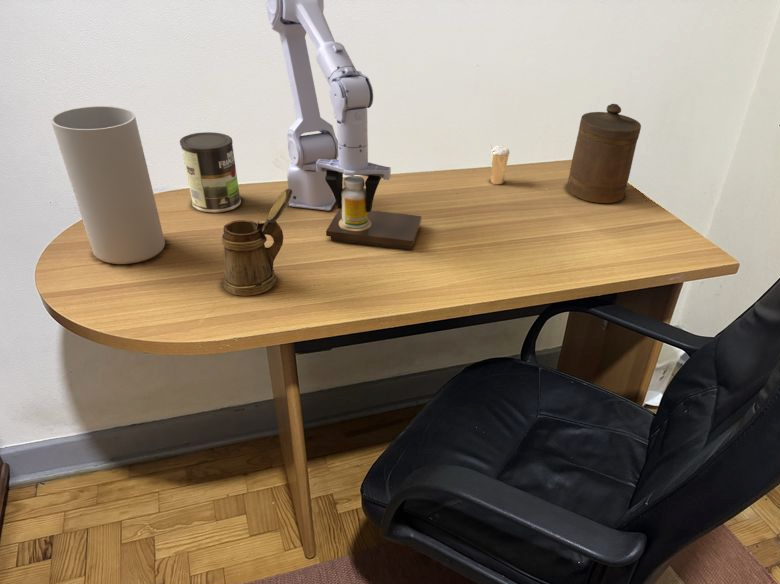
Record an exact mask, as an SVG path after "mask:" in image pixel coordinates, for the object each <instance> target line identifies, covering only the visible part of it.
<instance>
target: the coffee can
mask: <svg viewBox="0 0 780 584" xmlns="http://www.w3.org/2000/svg"><path fill="white" fill-rule="evenodd" d="M233 144H234V143H233V138H232V137H231V136H230V135H227V134H224V133H220V132H214V131H213V132H211V131H207V132H205V131H204V132H195V133H190V134H187V135H185V136H182V137H180V139H179V145H180V147H181V151H182V157H183V163H184V168H185V172H186V178H187V183H188V188H189V192H190V198H191V205H192V207H193V208H194V209H195V210H197V211H200V212H204V213H224V212H229V211H232V210H234V209H236V208H238V207H239V206H240V205H241V203H242V200H241V194H240V187H239V181H238V175H237V168H236V160H235V153H234V146H233Z"/></svg>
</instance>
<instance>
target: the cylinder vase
mask: <svg viewBox="0 0 780 584" xmlns="http://www.w3.org/2000/svg"><path fill="white" fill-rule="evenodd" d="M50 122H51V126H52V128H53V131H54V135H55V138H56V141H57V144H58V148H59V150H60V154H61V158H62V160H63V162H64V166H65V170H66V173H67V175H68V179H69V182H70V185H71V188H72V192H73V194H74V197H75V201H76V205H77V207H78V210H79V213H80V216H81V219H82V223H83V226H84V229H85V232H86V236H87V238H88V242H89V245H90V248H91V252H92V254H93V255H94V256H95V258H97V259H98V260H100V261H102V262H104V263H107V264H113V265H114V264H115V265H129V264H136V263H140V262H145V261H147V260H149V259H152V258H154V257H156V256H157V255H159V254H160V253H161V252H162V251H163V250H164V248H165V244H166V242H165V235H164V233H163V228H162V224H161V219H160V216H159V211H158V207H157V203H156V199H155V195H154V190H153V186H152V181H151V177H150V172H149V169H148V165H147V161H146V160H147V159H146V156H145V152H144V147H143V143H142V139H141V135H140V131H139V127H138V123H137V119H136V115H135V113H134V112H133V111H132V110H129V109H126V108H123V107H118V106H109V105H93V106H80V107H75V108H74V107H73V108H70V109H65V110H63V111H59V112H58V113H56V114H54V115H53V116H52V117H51V118H50Z"/></svg>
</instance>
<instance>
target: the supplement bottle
mask: <svg viewBox="0 0 780 584" xmlns="http://www.w3.org/2000/svg"><path fill="white" fill-rule="evenodd" d="M366 201H367V196H366V187H365V179H364V178H363V176H360V175H354V176H346V177H344V178H343V189H342V191H341V205H342V223H343V224H344V225H345V226H347V227H350V228H362V227H364V226H366V225H367V223H368V212H367V211H366Z"/></svg>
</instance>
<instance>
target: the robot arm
mask: <svg viewBox="0 0 780 584" xmlns="http://www.w3.org/2000/svg"><path fill="white" fill-rule="evenodd" d="M264 1H265V7H266V11H267V17H268V20H269V24H270V28H271V30H273V31H274V32H276V33H278V34H279V39H280V44H281V47H282V52H283V53H282V54H283V57H284V58H283V59H284V62H285V67H286V71H287V77H288V83H289V87H290V92H291V96H292V102H293V106H294V111H295V116H296V120H294V122H293V123H292V124H291V125H290V127H289V128H288V129H287V131H286V137H287V152H288V156H289V158H290V161H291V162H290V163H289V165H288V167H287V174H286V175H287V189H291V190H292V191H293V192H292V195H291V198H290V200H289V202H288V206H289V207H293V208H300V209H308V210H310V209H311V210H319V211H327V212H329V211H331V210H332V208H333V207H334V205H335V203H336V206H337V209H338V210H339V209H341V208H342V205H341V191H342V189H343V188H344V176H347V177H349V176H359V177H367V178H366V180H364V183H365V186H364V188H365V189H366V196H367V201H366V211H367V212H370V211H371V210H372V209H373V204H374V203H373V202H374V199H375V196H376V195H375V194H376V192H377V189H378V186H379V185H380V182H381V179H383V180H385V181H389V180H390V179H391V176H392V175H391V172H392V169H391V167H390V166H385V165H382V164H381V165H380V164H376V163H374V162H369V137H368V135H369V134H368V133H369V132H368V129H369V127H368V109H370V108H371V107H372V105H373V104H374V103H373V102H374V90H373V86H372V83H371V81H370V78H369V77H368V76H367V75H366V74H363V73H362V71H360V70H357V68H356V67H355V65H354V63H353V61H352V60H351V58H350V56H349V53H348V51H347V50H346V48H345V46H344V45H343V44H342V43H341V42H338V41H335V39H334V36H333V34H332V31H331V29H330V26H329V24H328V21H327V19H326V17H325V14H324V9H325V5H324V3H325V1H324V0H264ZM306 35H308V37H309V39H310V40H311V42H312V43H313V44H314V46H315V48H316V49H317V53H316V57H315V58H316V62H317V64H318V65H319V68H320V69H321V71H322V73H323V76H324V78H325V79H326V81H327V83H328V85H329V98H330V102H331V104H332V109H333V110H332V111H333V115H334V119H336V131H337V136H336V132H335V129H334V126H333V125H332V124H331V123H329V122H328V121H327V120H325V119H324V118H322V117H321V113H320V107H319V102H318V98H317V93H316V92H317V91H316V86H315V81H314V77H313V71H312V67H311V65H312V64H311V62H310V61H311V59H310V55H309V52H308V51H309V50H308V47H307V46H308V45H307V40H306ZM313 132H314V133H313ZM315 132H316V133H315ZM317 132H319V133H317ZM307 133H311V134H307ZM303 134H304V135H303Z"/></svg>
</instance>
